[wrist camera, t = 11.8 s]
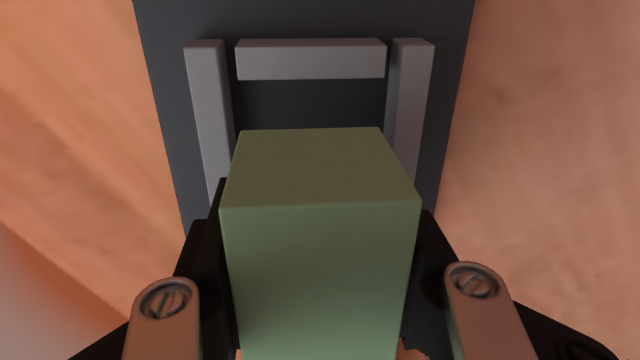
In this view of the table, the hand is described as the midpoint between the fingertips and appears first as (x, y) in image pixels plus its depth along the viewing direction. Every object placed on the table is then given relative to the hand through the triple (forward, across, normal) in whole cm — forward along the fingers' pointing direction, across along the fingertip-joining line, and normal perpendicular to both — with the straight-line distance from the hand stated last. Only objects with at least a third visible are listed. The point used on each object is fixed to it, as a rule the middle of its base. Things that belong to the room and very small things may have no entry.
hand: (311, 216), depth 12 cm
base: (+4, 0, 0) cm, 4 cm away
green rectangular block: (0, 0, 0) cm, 0 cm away
